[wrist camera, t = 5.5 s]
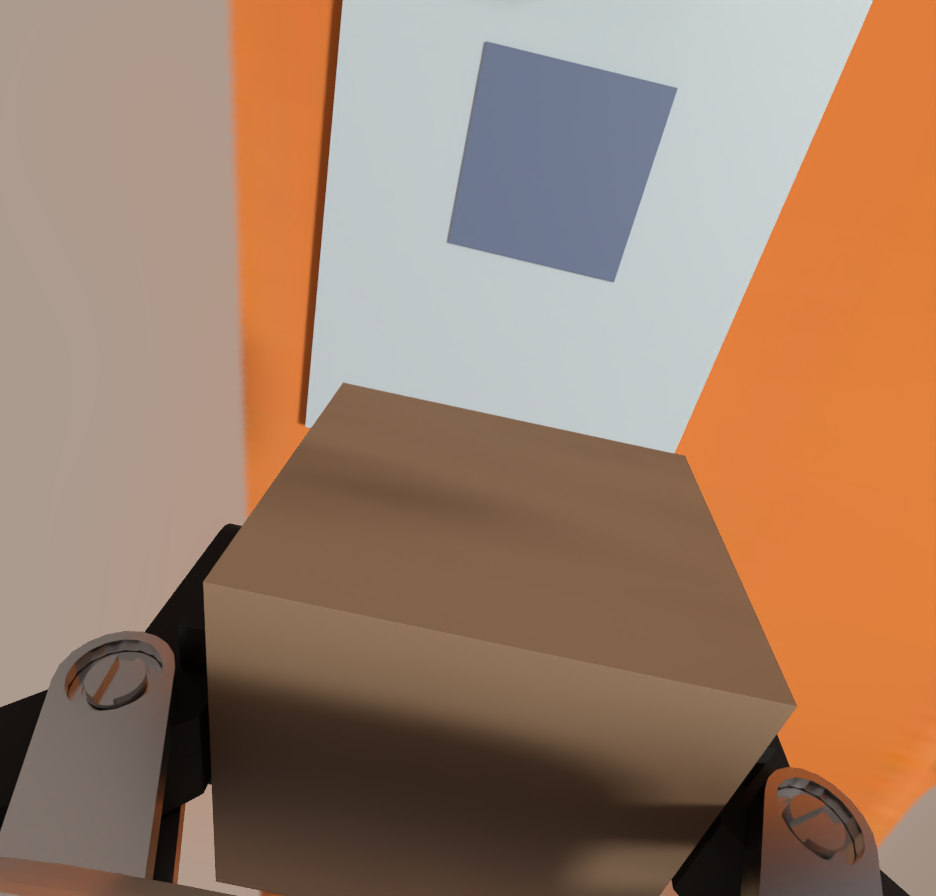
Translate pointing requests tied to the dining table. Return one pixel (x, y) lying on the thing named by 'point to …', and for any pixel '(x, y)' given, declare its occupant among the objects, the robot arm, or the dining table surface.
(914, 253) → the dining table surface
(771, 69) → the board
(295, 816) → the walnut block
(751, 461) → the dining table surface
